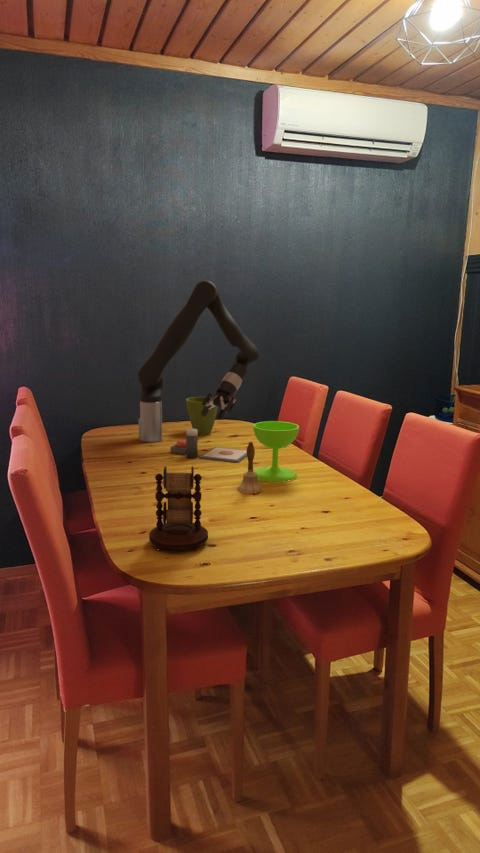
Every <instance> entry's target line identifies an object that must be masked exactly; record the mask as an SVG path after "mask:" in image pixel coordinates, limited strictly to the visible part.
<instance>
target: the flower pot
mask: <svg viewBox="0 0 480 853" xmlns="http://www.w3.org/2000/svg"><path fill="white" fill-rule="evenodd" d="M206 397H207V396H194V397H193V396H192V397H187V398H186V399H185V404H186V410H187V413H188V414H187V415H188V418H189V422H190V425H191V427H192V428H191V429H197V430H198V436H207V435H211V433H212V430H213V428H214V426H215V422H216V418H217V415H218V408H219V406H215V407H214V408H213V407H212V408H211V409H209V411H208V413H207V414H206V416H205V417H203V416H202V415H201V412H202V410H203V409H204V406H203V405H202V403H203V401H204V400H205V398H206ZM206 403H207V402H206ZM212 403H213V402H212ZM213 404H214V403H213ZM210 405H211V404H210ZM210 405H208V406H210Z"/></svg>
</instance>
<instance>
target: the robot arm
mask: <svg viewBox="0 0 480 853" xmlns="http://www.w3.org/2000/svg"><path fill="white" fill-rule="evenodd" d="M219 293H220V292H218V288H217V286H216V284H215V283H214V282H212V280H211V281H210V280H200V281H199V282H197V283H196V284H195V287H194V288H193V290H192V293H191V294H190V296H189V298H188V300H187V302H186V304H185V305H184V307H183V308H182V309H181V310H180V311H179V313H178V314H177V315H176V316H175V318H174V319H173V320H172V321H171V323H170V324H169V325H168V327H167V329H166V330H165V332H164V334H163V335H162V337H161V338H160V340H159V342H158V343H157V346H156V347H155V350H154V351H153V353H152V354H151V355H150V357H149V358H148V359H147V360H146V361H145V363H143V365H142V366H141V367H140V368H139V370H138V373H137V379H138V381H139V383H140V384H141V388H140V389H141V392H140V394H139V395H140V396H139V410H140V412H139V413H140V414H139V415H140V417H139V418H138V441H141V442H144V443H155V442H156V443H157V442H161V441H163V409H162V408H163V407H162V406H163V405H162V403H163V402H162V399H163V398H162V397H163V392H164V391H163V390H164V389H163V381H164V378H163V377H164V375H163V371H164V369H165V368H166V366H167V365H168V363H169V362H170V361H171V360H172V359H173V358H174V357H175V356H176V354H177V353H178V352H180V350H181V349H182V347H184V345H185V343H186V342H187V341H188V339H189V337H190V336H191V334H192V332H193V331H194V329H195V327H196V325H197V322H198V320H199V318H200V317H201V315H202V313H204V311H205V310H206V309H207V310H209V311H210V312H211V315H212V316H213V317H214V320H215V321H216V323H217V325H218V327H219V329H220V330H221V332H222V334H223V335H224V337H225V338H226V339H227V341H228V343H229V344H230V345H231V347H235V348H237V349H238V350H239V351H238V352H237V354H236V355H235V357H234V359H233V363H232V365H231V367H230V368H229V370H228V372H227V373H226V374H225V375H224V377H223V378H222V380H221V381H220V383H219V385H218V386H217V387H216V392H215V394H211V393H208V394H207V396H205V397H206V398H205V400H204V401H203V403H202V405H203V406H204V409H203V410H202V412H201V415H202V416H203V417H205V416H206V414H207V413H208V411H209V409H211V408H212V407H213V408H214V407H215V406H218V407H220V408H221V409H220V410H219V412H217V414H216V418H217V419H218V420H222V419H223V418H224V416H225V414H227V413H231V412H232V411H233V409H234V407H235V405H236V403H237V399H236V398H235V395H236V394H237V392H238V390H239V388H240V387H241V386H242V382H243V381H244V379H245V377H246V376H247V374H248V367H249V366H250V365H251V364H253V363H255V362H257V361H258V360H259V357H260V352H259V349H258V347H257V346H256V345H255V344H254V343H253V342H252V340H250V339H249V338H248V337H247V336H246V335H245V334H244V332H243V330H242V329H241V328H240V326H239V324H238V323H237V322H236V320H235V319H234V318H233V316H232V315H231V313H230V312H229V311H228V309H227V307H226V305H225V304H224V302H223V300H222V298H221V296H220V294H219ZM206 402H207V403H206ZM212 402H213V403H214V404H213V403H212ZM210 404H211V405H210ZM208 405H210V406H208Z"/></svg>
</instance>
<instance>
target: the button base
mask: <svg viewBox="0 0 480 853" xmlns="http://www.w3.org/2000/svg"><path fill="white" fill-rule="evenodd" d="M170 454H175V455H176V454H178V455H185V456H186V448H181V447H177V443H175V444H174V445H172V446H170Z"/></svg>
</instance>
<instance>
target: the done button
mask: <svg viewBox="0 0 480 853" xmlns="http://www.w3.org/2000/svg"><path fill="white" fill-rule="evenodd" d="M176 444H177V447H181V448H186V439H185V440H177V441H176Z"/></svg>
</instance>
